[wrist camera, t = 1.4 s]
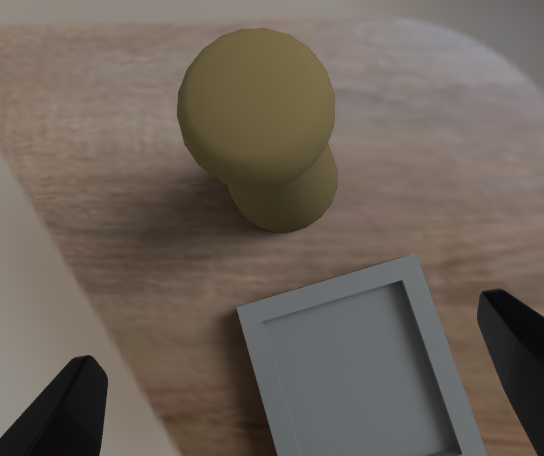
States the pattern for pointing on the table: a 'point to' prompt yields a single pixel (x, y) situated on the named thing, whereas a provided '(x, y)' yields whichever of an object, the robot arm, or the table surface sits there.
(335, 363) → the gray tray
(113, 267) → the table surface
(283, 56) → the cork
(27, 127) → the table surface
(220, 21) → the table surface
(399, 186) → the table surface
